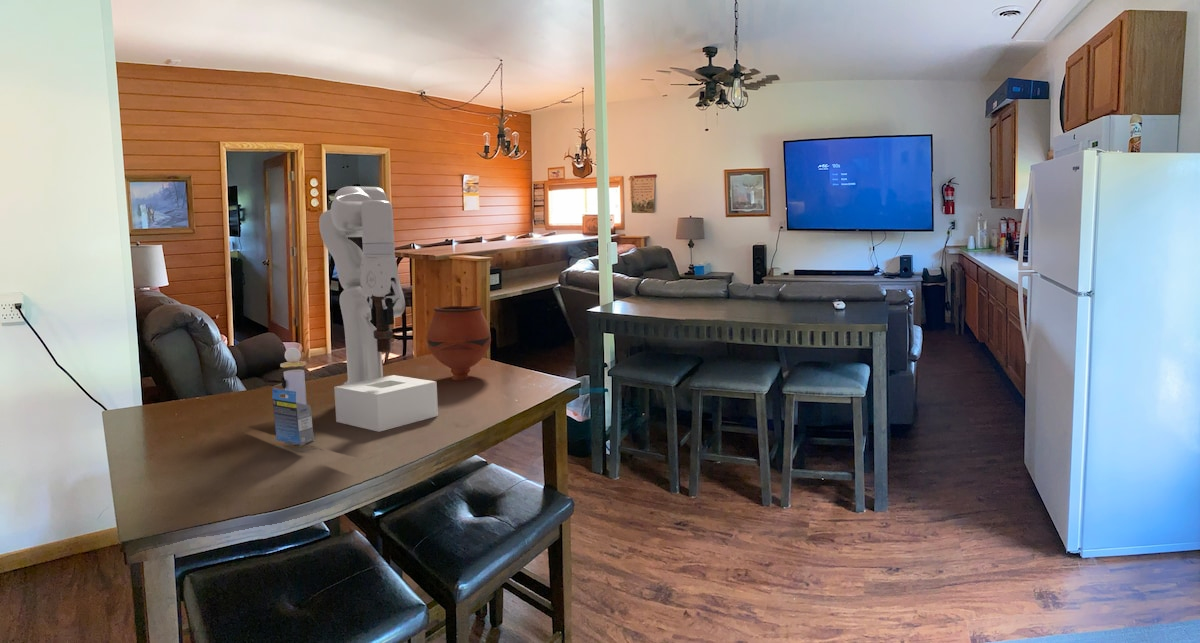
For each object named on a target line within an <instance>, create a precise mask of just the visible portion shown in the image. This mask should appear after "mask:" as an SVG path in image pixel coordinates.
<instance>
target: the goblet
mask: <svg viewBox="0 0 1200 643" xmlns="http://www.w3.org/2000/svg"><path fill="white" fill-rule="evenodd" d="M433 311H434V312H433V316H432V319H431V321H430V324H429V328H428V331H427V337H426V342H427V347H428V350H429V352H430V353H431V355H432V356H433V357H434V358H435V359H436V360H437V361H438V362H440V363H441V364H442V365H444V366H446V367H448V368H450V373H452V377H451V380H454V381H463V380H467V379H468V378H470V376H469V373H470V372H471V368H472V367H474V366H475V365H476V364H478V363H479V362H480V361H481V360H483V358H484V357H485V355H486V354H487V353H488V351H489V349H490V346H491V344H492V335H491V331H490V326H489V324H488V321H487V319H486V317H485V315H484V312H483V310H482V305H481V306H480V305H466V306H465V305H463V306H462V305H451V306H439V307H434V309H433Z"/></svg>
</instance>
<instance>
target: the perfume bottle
mask: <svg viewBox="0 0 1200 643" xmlns="http://www.w3.org/2000/svg"><path fill="white" fill-rule="evenodd" d="M301 357H302V353H301V351H300V349H299V348H298V347H294V346H292V347H288V348H287V349H286V350H285V352H284V359H285V360H286V362H282V363H280V364H279V365H280V366H279V367H280V368H284V369H285V368H288V370H285V371H283V374H282V376H280V377H281V378H280V380H281V389H283V390H289V391H296V402H297V403H302V404H306V405H307V392H306V391H307V390H306V379H305V378H306V376H305V370H304V369H290V370H289V368H300V367H304V366H307V361H304V360H303V361H301V360H300V359H301ZM284 395H285V394H284ZM284 398H288V396H287V395H285V397H284Z"/></svg>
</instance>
